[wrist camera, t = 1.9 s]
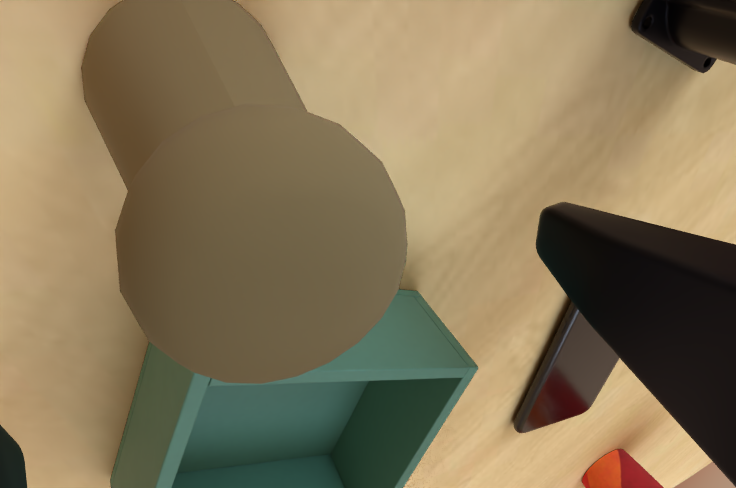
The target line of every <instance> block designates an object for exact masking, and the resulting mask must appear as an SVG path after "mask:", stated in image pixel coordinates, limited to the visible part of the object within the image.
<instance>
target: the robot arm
mask: <svg viewBox="0 0 736 488" xmlns="http://www.w3.org/2000/svg"><path fill="white" fill-rule="evenodd" d="M631 28H632V31H633V32H634V33H635V34H637V35H639V36H640V37H642V38H643V39H645V40H647V41H648V42H650V43H651V44H653V45H655V46H656V47H658V48H659V49H661V50H663V51H664V52H666V53H667V54H669V55H671V56H672V57H674V58H675V59H677V60H679V61H680V62H682V63H683V64H685V65H687V66H688V67H690V68H691V69H693V70H695V71H698V72H701V73H704V72H707V71H708V70H709V69H710V68H711V67H712V65H713V64H714V62H715V61H716V59H719V60H723V61H726V62H729V63H732V64H736V0H644V1H643V2H642V4H641V6H640V8H639V9H638V11H637V13H636V15H635V16H634V18H633V21H632V25H631ZM536 249H537V253H538V255H539V257H540V258H541V260H542V261H543V262H544V264H545V265H546V267H547V268H548V269H549V271H550V272H551V273H552V275H553V276H554V277H555V279H556V280H557V282H558V283H559V284H560V286H561V287H562V288H563V290H564V291H565V293H566V294H567V295H568V297H569V298H570V299H571V301H572V302H573V304H574V305H575V306H576V308H577V309H578V310H579V312H580V313H581V314H582V315H583V317H584V318H585V319H586V320H587V322H588V323H589V324H590V325H591V326H592V328H593V329H594V330H595V331H596V332H597V333H598V334H599V335H600V337H601V338H602V339H603V340H604V341H605V342H606V343H607V344H608V345H609V347H610V348H611V349H612V350H613V351H614V352H615V353H616V354H617V355H618V357H619V358H620V359H621V360H622V361H623V362H624V363H625V364H626V365H627V367H628V368H629V369H630V370H631V371H632V372H633V373H634V374H635V375H636V377H637V378H638V379H639V380H640V381H641V382H642V383H643V384H644V385H645V387H646V388H647V389H648V390H649V391H650V392H651V393H652V394H653V395H654V397H655V398H656V399H657V400H658V401H659V402H660V403H661V404H662V405H663V407H664V408H665V409H666V410H667V411H668V412H669V413H670V414H671V415H672V417H673V418H674V419H675V420H676V421H677V422H678V423H679V424H680V425H681V427H682V428H683V429H684V430H685V431H686V432H687V433H688V434H689V435H690V437H691V438H692V439H693V440H694V441H695V442H696V443H697V444H698V445H699V447H700V448H701V449H702V450H703V451H704V452H705V453H706V454H707V455H708V457H709V458H710V459H711V460H712V461H713V462H714V463H715V464H716V465H717V467H718V468H719V469H720V470H721V471H722V472H723V473H724V474H725V475H726V477H727V478H728V479H729V480H730V481H731V482H732V483H733V484H734V486H735V487H736V245H735V244H731V243H727V242H723V241H719V240H715V239H711V238H707V237H703V236H699V235H695V234H691V233H687V232H683V231H679V230H675V229H671V228H667V227H663V226H659V225H655V224H651V223H647V222H643V221H639V220H635V219H631V218H627V217H623V216H619V215H615V214H611V213H607V212H603V211H599V210H595V209H591V208H587V207H583V206H579V205H575V204H571V203H567V202H561V203H557V204H555V205H552V206H549V207H546V208H545V209H543V210H542V212H541V214H540V218H539V225H538V231H537V238H536ZM0 488H27V481H26V471H25V461H24V456H23V453H22V450H21V448H20V446H19V445H18V444H17V442H16V441H15V440H14V439H13V438H12V437H11V436H10V435H9V434H8V433H7V432H6V431H5V429H4V428H3V427H2V426H1V425H0Z"/></svg>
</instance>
